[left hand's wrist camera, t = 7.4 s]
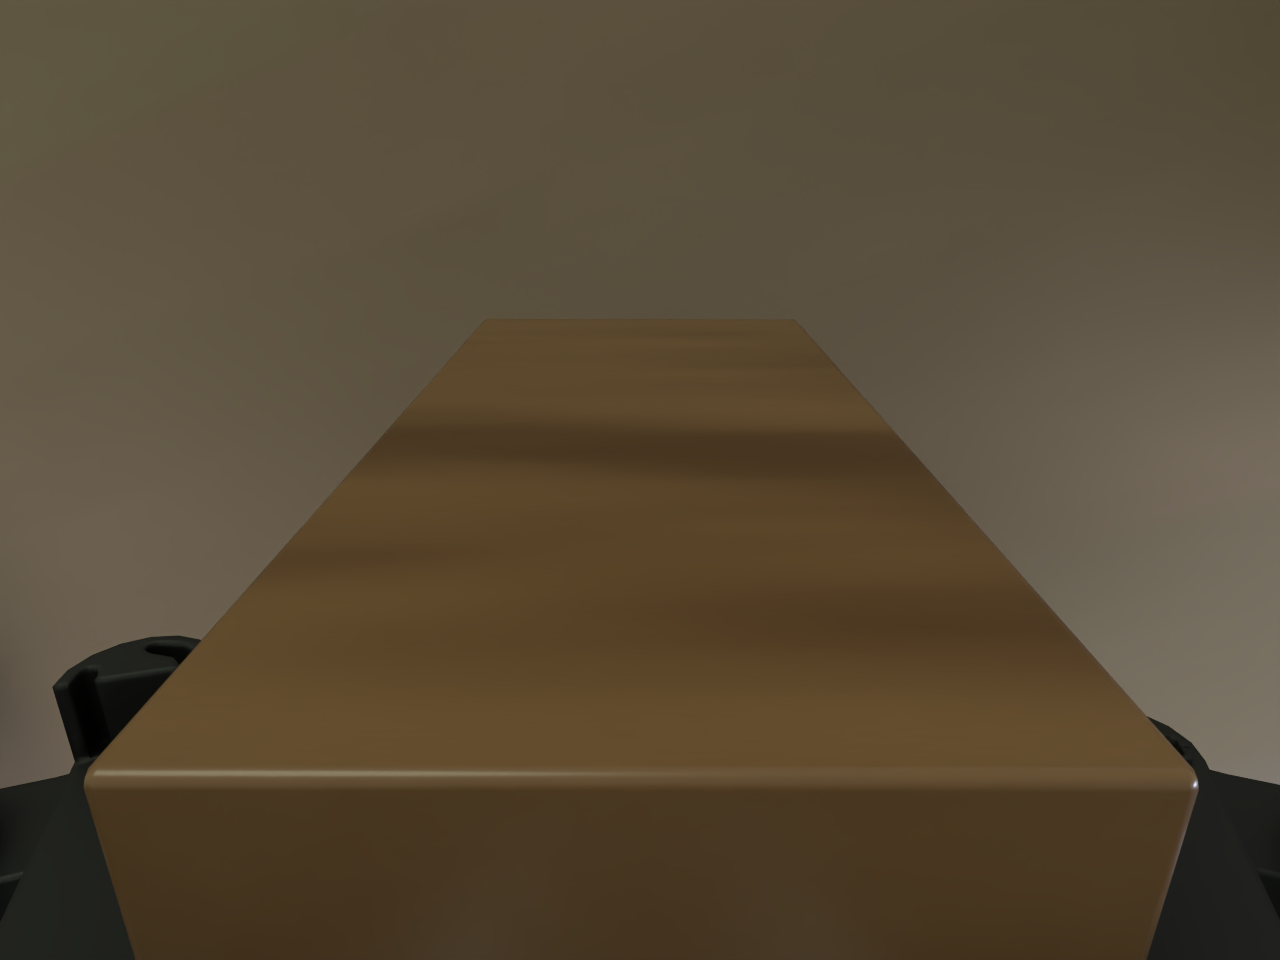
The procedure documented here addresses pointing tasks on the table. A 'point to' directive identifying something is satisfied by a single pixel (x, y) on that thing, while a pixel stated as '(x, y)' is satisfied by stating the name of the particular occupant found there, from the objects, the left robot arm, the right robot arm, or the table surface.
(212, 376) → the table surface
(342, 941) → the box
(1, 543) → the table surface
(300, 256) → the table surface
